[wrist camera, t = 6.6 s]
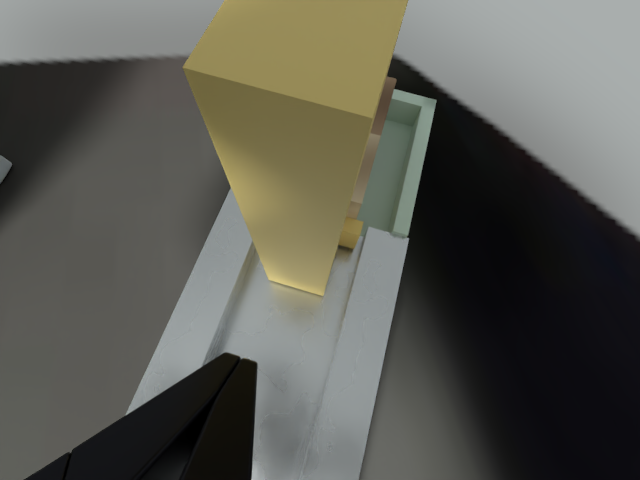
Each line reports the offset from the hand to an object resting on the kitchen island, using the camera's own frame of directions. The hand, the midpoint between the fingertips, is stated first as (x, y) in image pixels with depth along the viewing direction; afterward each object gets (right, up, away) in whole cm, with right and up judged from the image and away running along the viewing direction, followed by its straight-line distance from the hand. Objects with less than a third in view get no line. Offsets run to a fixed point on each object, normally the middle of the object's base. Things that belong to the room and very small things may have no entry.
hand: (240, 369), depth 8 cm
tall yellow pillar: (+1, +2, +10) cm, 10 cm away
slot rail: (0, -3, +9) cm, 10 cm away
